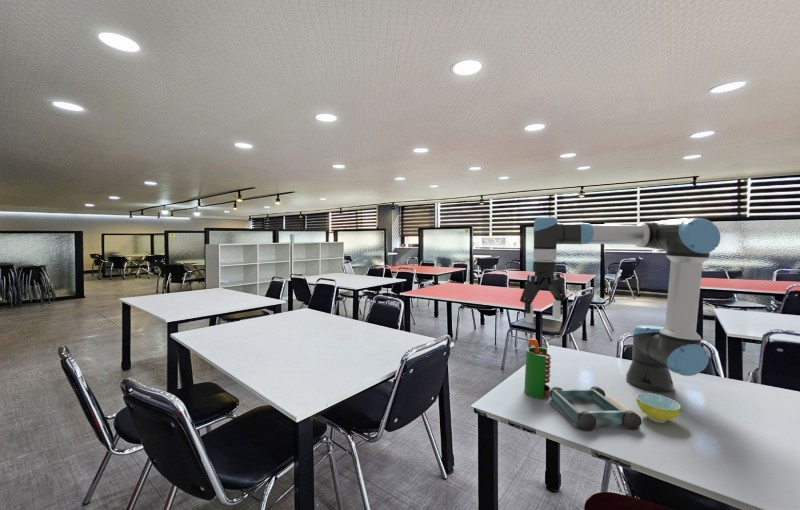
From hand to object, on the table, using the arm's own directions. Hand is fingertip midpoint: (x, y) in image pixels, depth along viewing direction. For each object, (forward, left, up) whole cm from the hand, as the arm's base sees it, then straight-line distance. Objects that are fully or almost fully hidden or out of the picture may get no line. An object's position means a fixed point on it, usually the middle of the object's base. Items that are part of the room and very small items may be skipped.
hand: (543, 320), depth 124 cm
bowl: (-30, +16, -28) cm, 45 cm away
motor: (0, -4, -28) cm, 29 cm away
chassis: (-11, +12, -28) cm, 33 cm away
